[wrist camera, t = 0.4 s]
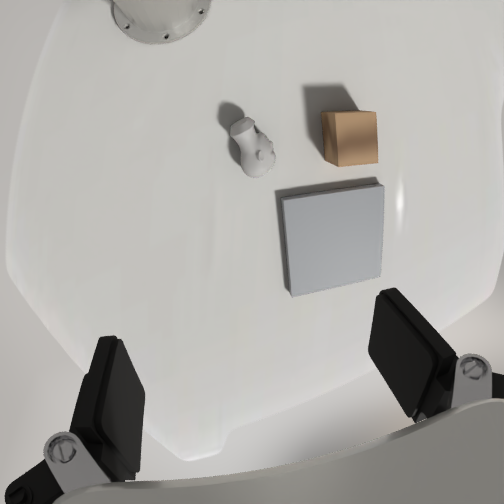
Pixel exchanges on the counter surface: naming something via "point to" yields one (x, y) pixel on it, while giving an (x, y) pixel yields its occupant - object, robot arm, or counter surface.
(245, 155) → the smooth white sculpture
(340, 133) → the walnut brick
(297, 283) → the base board
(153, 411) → the counter surface
